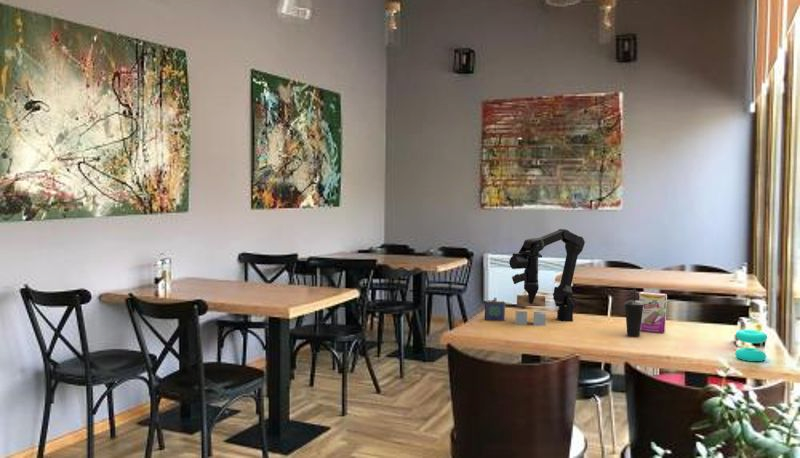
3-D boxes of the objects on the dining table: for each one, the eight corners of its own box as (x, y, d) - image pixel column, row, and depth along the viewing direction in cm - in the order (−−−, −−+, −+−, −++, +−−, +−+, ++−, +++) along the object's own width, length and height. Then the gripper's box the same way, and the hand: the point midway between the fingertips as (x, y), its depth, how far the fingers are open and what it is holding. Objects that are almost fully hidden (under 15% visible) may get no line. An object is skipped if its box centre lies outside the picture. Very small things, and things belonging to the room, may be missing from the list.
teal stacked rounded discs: (766, 330, 249) (768, 335, 240) (764, 357, 250) (767, 363, 241) (735, 327, 253) (736, 333, 244) (734, 354, 254) (735, 360, 245)
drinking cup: (642, 334, 287) (644, 287, 285) (643, 338, 279) (644, 289, 278) (623, 333, 289) (625, 286, 288) (623, 336, 282) (624, 288, 281)
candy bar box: (637, 331, 294) (638, 293, 293) (638, 329, 298) (639, 291, 297) (664, 333, 289) (666, 295, 288) (665, 331, 293) (667, 293, 292)
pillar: (544, 323, 307) (545, 312, 307) (545, 325, 302) (545, 314, 302) (533, 322, 308) (533, 311, 308) (533, 325, 303) (533, 313, 303)
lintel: (543, 304, 307) (543, 295, 307) (545, 306, 302) (545, 297, 302) (516, 304, 308) (516, 295, 308) (517, 305, 303) (517, 296, 303)
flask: (504, 320, 315) (504, 297, 314) (505, 321, 312) (505, 298, 311) (484, 320, 315) (484, 296, 315) (484, 321, 312) (485, 297, 312)
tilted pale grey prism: (526, 322, 308) (527, 311, 308) (526, 324, 304) (527, 313, 303) (515, 322, 309) (515, 311, 309) (515, 324, 304) (515, 313, 304)
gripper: (513, 264, 315) (513, 298, 316) (512, 269, 297) (512, 305, 298) (538, 265, 313) (537, 299, 314) (538, 270, 294) (538, 306, 295)
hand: (530, 302), depth 305 cm, fingers closed on lintel, 5 cm apart
